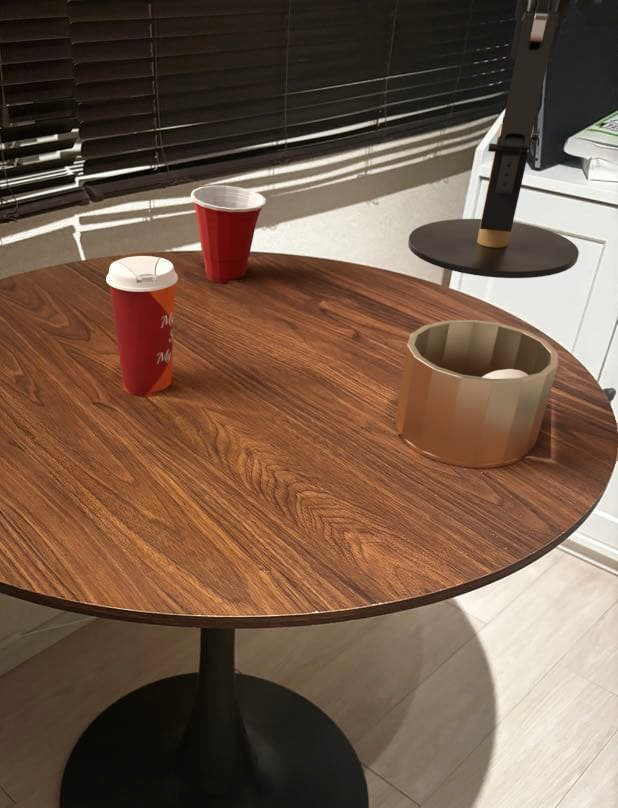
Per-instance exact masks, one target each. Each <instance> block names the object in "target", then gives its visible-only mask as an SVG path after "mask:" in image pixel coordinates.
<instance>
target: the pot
mask: <svg viewBox="0 0 618 808" xmlns="http://www.w3.org/2000/svg"><path fill="white" fill-rule="evenodd" d="M404 356H405V357H404V363H403V369H402V374H401V375H402V376H401V380H400V382H401V383H400V386H399V387H400V388H399V393H398V395H399V396H398V400H397V405H396V413H395V418H394V424H395V426H396V428H397V429H398V432H399V433H397V435H398V437H399V439H400V440H401V441H402V442H403V443H404V444H405V445H406V446H407V447H409V448H410V449H411V450H413V451H414V452H416V453H417V454H420V455H422V456H424V457H427V458H428V459H431V460H433V461H436V462H439V463H443V464H446V465H450V466H456V467H463V468H471V469H492V468H493V469H494V468H499V467H500V468H501V467H506V466H510V465H513V464H516V463H518V462H521V461H522V460H524V459H525V458H526V457H528V453H529V452H530V451H531V450H532V449H533V448H534V447H535V446H536V444H537V442H538V441H537V440H538V437H539V434H540V430H541V427H542V423H543V420H544V416H545V413H546V409H547V405H548V402H549V398H550V395H551V391H552V389H553V386H554V385H553V384H554V381H555V379H556V374H557V371H558V368H559V352H558V351H557V350H556V349H555V348H554V347H553V346H552V345H551V344H550V343H549V342H548V341H547V340H546V339H544V338H542V337H540V336H538V335H536V334H534V333H532V332H530V331H528V330H526V329H521V328H519V327H515V326H512V325H507V324H504V323H500V322H492V321H485V320H476V319H459V320H458V319H455V320H454V319H451V320H450V319H449V320H443V321H438V322H433V323H429V324H426V325H425V324H424V325H422V326H421V327H419V328H417V330H415V331H413V332H411V333H410V336H409V338H408V341H407V345H406V351H405V355H404ZM505 369H514V370H520V371H522V372H525V373H526V374H528V375H529V376H525V377H521V378H506V379H489V378H482V377H483V376H484V375H486V374H488V373H490V372H493V371H497V370H505Z"/></svg>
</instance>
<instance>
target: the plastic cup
mask: <svg viewBox="0 0 618 808" xmlns="http://www.w3.org/2000/svg"><path fill="white" fill-rule="evenodd" d="M190 198H191V200H192V202H193V205H194V210H195V216H196V219H197V228H198V233H199V240H200V241H199V242H200V247H201V254H202V256H203V263H204V269H205V273H206V278H207V279H208V280H210V281H212V282H214V283H219V284H229V283H230V281H232V280H239V279H241V278H243V277H244V276H245V275H246V273H247V267H248V263H249V258H250V255H251V249H252V245H253V241H254V235H255V230H256V226H257V222H258V219H259V216H260V212H262V211H261V210H262V209H263V208H264V207H265V204H266V201H267V199H266V197H264V195H262V194H261V193H258V192H257V191H254V190H252V189H247V188H244V187H240V186H233V185H232V186H231V185H206V186H200V187H198V188H194V189H193V190H192V191H191V192H190Z"/></svg>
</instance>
